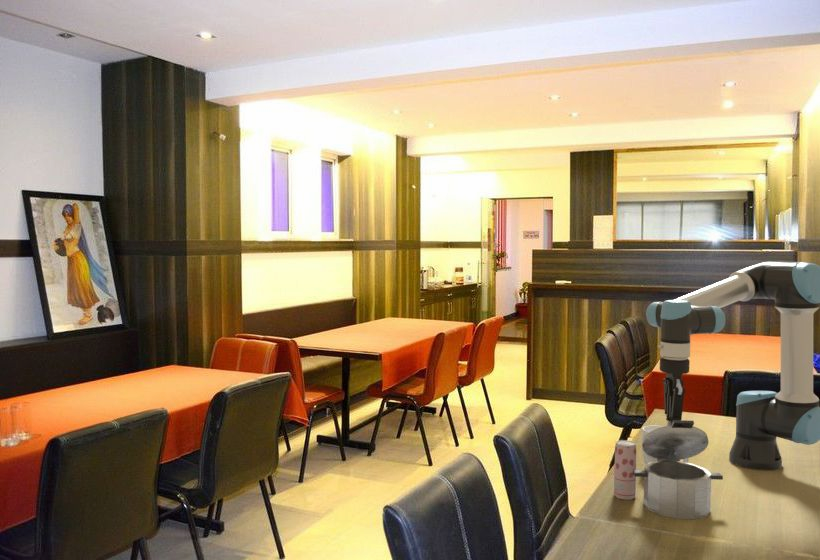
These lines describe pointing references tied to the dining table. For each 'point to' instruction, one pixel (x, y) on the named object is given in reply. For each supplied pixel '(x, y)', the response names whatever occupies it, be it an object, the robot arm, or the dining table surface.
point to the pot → (677, 489)
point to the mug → (646, 457)
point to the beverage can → (625, 469)
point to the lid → (675, 441)
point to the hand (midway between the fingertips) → (672, 443)
